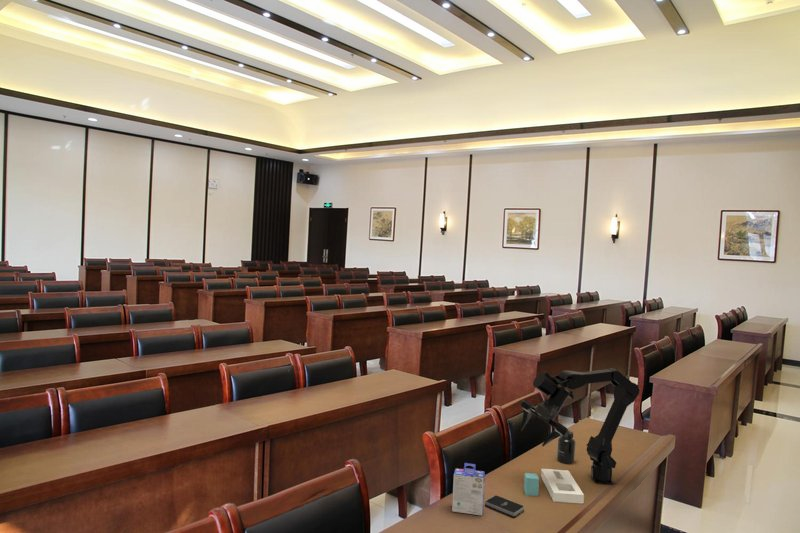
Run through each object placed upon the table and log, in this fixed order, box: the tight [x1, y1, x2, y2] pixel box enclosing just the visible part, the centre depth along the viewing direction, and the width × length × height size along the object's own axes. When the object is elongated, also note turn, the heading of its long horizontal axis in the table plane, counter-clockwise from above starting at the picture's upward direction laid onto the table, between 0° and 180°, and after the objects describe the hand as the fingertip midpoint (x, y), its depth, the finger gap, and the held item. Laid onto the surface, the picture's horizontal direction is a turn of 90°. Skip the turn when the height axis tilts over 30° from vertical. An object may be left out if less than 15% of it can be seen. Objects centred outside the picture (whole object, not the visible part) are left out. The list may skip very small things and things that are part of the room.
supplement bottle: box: [556, 430, 576, 465], centre depth 209 cm, size 7×7×12 cm
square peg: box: [523, 472, 540, 497], centre depth 178 cm, size 4×4×6 cm
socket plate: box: [540, 468, 585, 505], centre depth 182 cm, size 10×20×3 cm, turn 176°
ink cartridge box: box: [451, 462, 486, 516], centre depth 164 cm, size 10×6×14 cm, turn 78°
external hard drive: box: [484, 494, 525, 519], centre depth 166 cm, size 7×11×2 cm, turn 48°
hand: (531, 438), depth 184 cm, fingers open, 9 cm apart
